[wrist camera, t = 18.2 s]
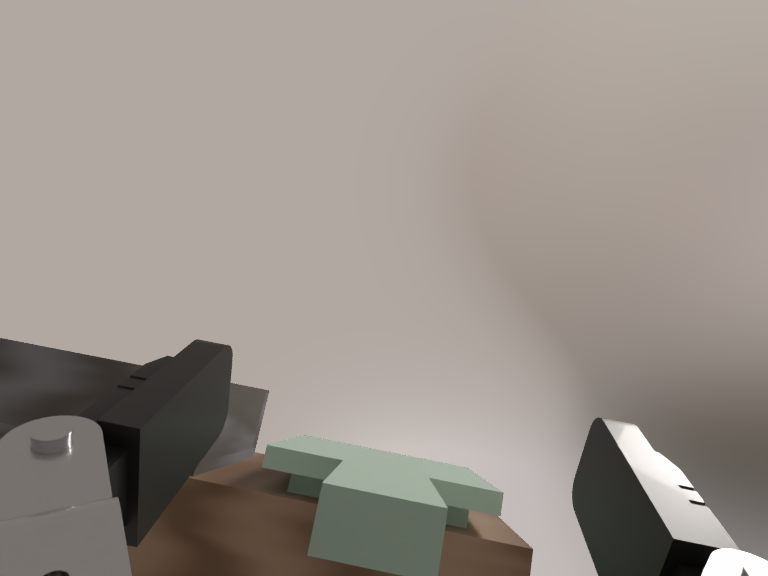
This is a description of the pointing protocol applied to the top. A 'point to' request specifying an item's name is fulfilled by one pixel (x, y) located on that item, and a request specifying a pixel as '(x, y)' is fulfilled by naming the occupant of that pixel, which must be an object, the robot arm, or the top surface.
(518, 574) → the cabinet
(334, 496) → the green t-shaped block
